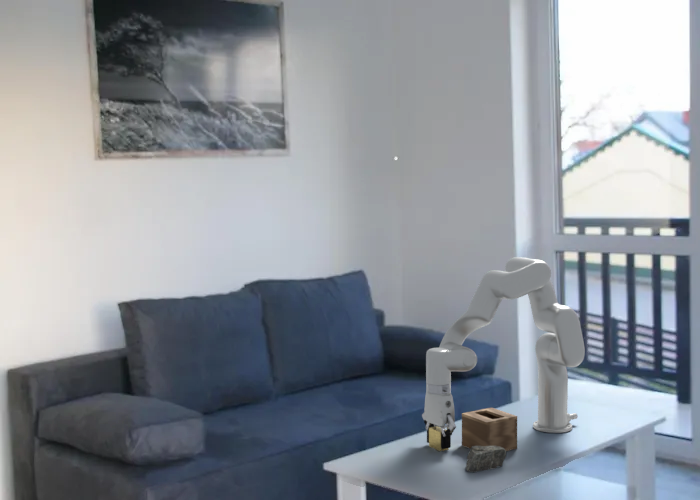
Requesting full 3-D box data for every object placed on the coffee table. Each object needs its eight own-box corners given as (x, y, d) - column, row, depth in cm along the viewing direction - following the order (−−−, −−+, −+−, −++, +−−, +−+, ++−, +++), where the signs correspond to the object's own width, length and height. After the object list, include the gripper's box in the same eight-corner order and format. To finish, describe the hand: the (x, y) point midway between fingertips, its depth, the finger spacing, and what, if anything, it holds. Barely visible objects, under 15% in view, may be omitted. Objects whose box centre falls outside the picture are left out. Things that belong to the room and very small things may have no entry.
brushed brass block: (436, 444, 285) (436, 426, 284) (448, 449, 280) (448, 430, 279) (428, 446, 283) (428, 427, 283) (440, 451, 278) (440, 432, 278)
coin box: (491, 438, 290) (491, 407, 289) (517, 448, 280) (517, 416, 279) (461, 445, 284) (461, 413, 283) (486, 455, 274) (487, 422, 273)
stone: (482, 473, 270) (497, 442, 270) (498, 484, 264) (514, 453, 265) (452, 462, 262) (467, 430, 262) (468, 473, 256) (484, 441, 257)
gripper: (465, 392, 275) (465, 450, 276) (431, 381, 289) (431, 436, 291) (446, 396, 271) (446, 454, 272) (412, 384, 285) (412, 440, 287)
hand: (438, 444), depth 282 cm, fingers open, 6 cm apart
